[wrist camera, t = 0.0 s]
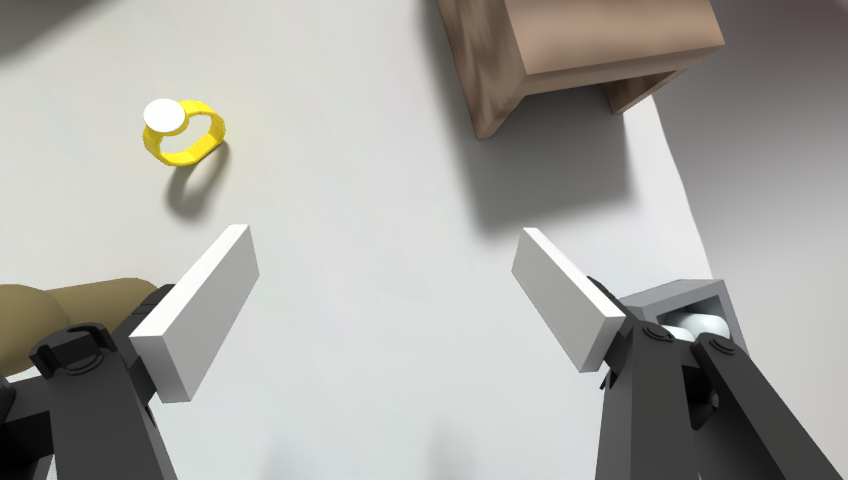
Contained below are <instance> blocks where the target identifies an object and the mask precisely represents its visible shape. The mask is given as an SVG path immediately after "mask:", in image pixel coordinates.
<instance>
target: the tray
mask: <svg viewBox="0 0 848 480" xmlns="http://www.w3.org/2000/svg"><path fill="white" fill-rule="evenodd" d="M618 300H619V301H620V302H621V303H622V304H623V305H624V306H625V307H626V308H627V309H628V310H629V311H630V312H631V313H632V314H634V315H635V316H636V317H637V318H638V319H639V320H641V321H649V322H653V323H656V324H658V325H660V326H662V327H664V328H665V329H667V330H668V331H670V332H671V333H672V334H673V335H674V336H675V338H676V339H681V340H687V341H692V342H694V341H695V340H696V338H697V337H698V335H699V334H700V333H703V332H709V333H714V334H717V335H721V336H723V337H726V338H728V339H730V340H731V341H733V342H734V343H735V344H737V345H738V346H740V347H741V348H742V349H743V350H744V351H745V352H746V354H747V355H748V356H749V353H748V350H747V347H746V344H745V341H744V338H743V335H742V332H741V329H740V326H739V324H738V321H737V318H736V315H735V312H734V309H733V306H732V303H731V300H730V297H729V294H728V292H727V288H726V286H725V283H724V280H676V281H673V282H670V283H666V284H663V285H660V286H657V287H654V288H651V289H648V290H645V291H642V292H639V293H635V294H632V295H629V296H626V297H623V298H620V299H618ZM749 358H750V356H749ZM715 400H716V402H717V404H719V399H718V396H717V397H716V399H715ZM698 473H699V472H698ZM699 480H701V477H700V475H699Z"/></svg>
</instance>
